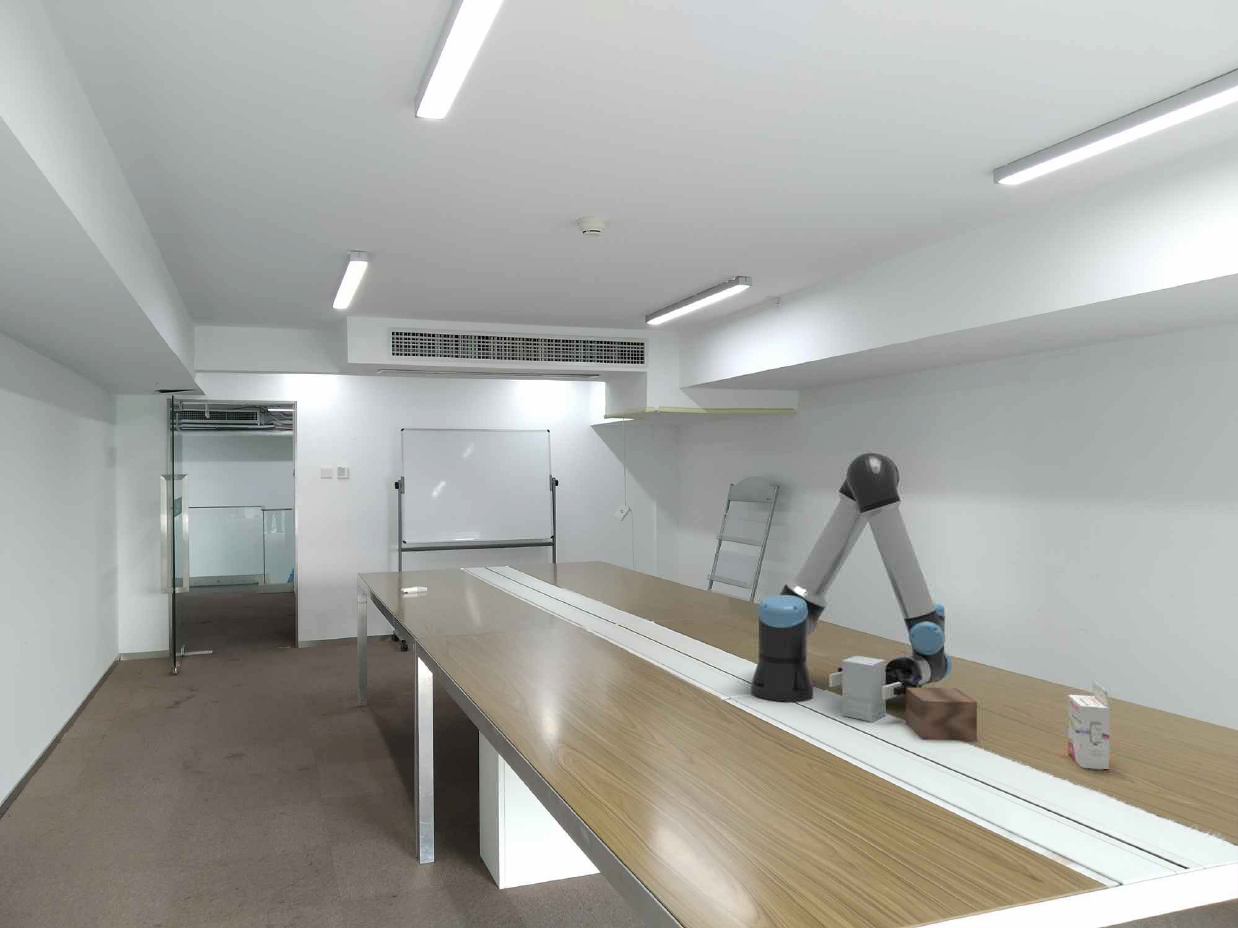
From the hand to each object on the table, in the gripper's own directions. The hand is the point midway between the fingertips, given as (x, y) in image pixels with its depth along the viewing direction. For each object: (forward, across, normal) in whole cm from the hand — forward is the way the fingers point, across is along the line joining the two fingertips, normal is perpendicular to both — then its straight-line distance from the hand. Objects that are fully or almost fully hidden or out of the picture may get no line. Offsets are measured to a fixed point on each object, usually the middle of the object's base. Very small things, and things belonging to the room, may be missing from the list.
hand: (856, 686), depth 188 cm
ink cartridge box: (-10, -44, -7) cm, 46 cm away
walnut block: (-6, -17, -7) cm, 19 cm away
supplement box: (-3, 0, -7) cm, 8 cm away
